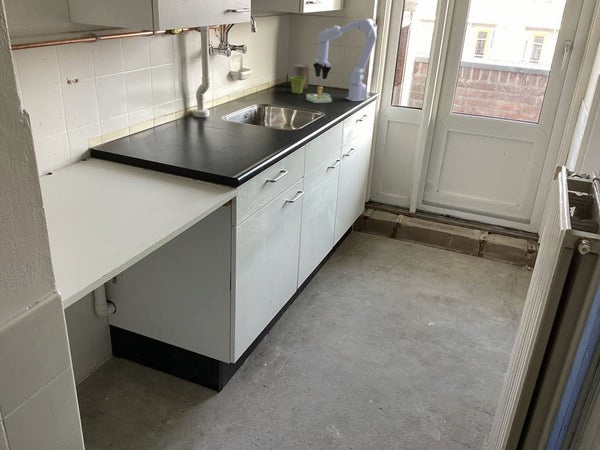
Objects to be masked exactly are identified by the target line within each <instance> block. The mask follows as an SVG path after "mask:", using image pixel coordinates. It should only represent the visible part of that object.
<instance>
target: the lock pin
mask: <svg viewBox="0 0 600 450" xmlns="http://www.w3.org/2000/svg"><path fill="white" fill-rule="evenodd" d="M316 89H317V93H316V95H317V99H321V97H322V93H323V89H324V88H323V86H317V87H316Z"/></svg>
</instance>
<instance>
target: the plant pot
mask: <svg viewBox="0 0 600 450" xmlns="http://www.w3.org/2000/svg"><path fill="white" fill-rule="evenodd" d="M289 79H290V83H291V85H290V86H291V93H293V94H296V93H297V95H298V94H303V91H304V89H303V86H304V82H305V80H306V78H304V77H298V76H294V77H293V76H290V77H289Z"/></svg>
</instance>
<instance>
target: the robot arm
mask: <svg viewBox="0 0 600 450" xmlns="http://www.w3.org/2000/svg"><path fill="white" fill-rule="evenodd" d="M376 25H377V24H376V23H375V21H374V19H372V18H364V19H360V20H355V21H352V22H351V23H347V24H345V25H343V26H339V25H333V27H331V28H325V31H324V30H322V31H320V32H319V33H318V34H317V40H318V48H317V50H318V51H317V58H316V59H315V58H314V63H313V68H314V72H315V77H320V76H321V75H322V79H323V80H326V79H327V77H328V75H329V73H330V70H331V69H332V66H331V63H330V62H329V61H328V58H329V48H330V47H329V43H330V41H331V40H334V39H336V38H340V37H342V35H343V33H346V32H348V31H349V32H350V31H352V30H355V29H356V30H360V31H361V32H362V33H363V34H364V36H365V38H366V40H365V43H364V45H363V48H362V51H361V53H360V56H359V59H358V60H357V64H356V66H355V68H354V70H353V72H352V73H351V74H350V75H349V88H348V89H349V90H348V97H344V98H345V99H346V100H349V101H352V102H360V101H367V99H366V98H367V97H366V96H367V85H366V84H365V83H363V81H364V78H365V72H366V67H367V64H368V61H369V59H370V56H371V54H372V51H373V48H374V46H375V44H376V41H377V39H378V38H377V37H378V36H377V29H376ZM321 73H322V74H321Z"/></svg>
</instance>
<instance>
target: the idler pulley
mask: <svg viewBox="0 0 600 450" xmlns="http://www.w3.org/2000/svg"><path fill="white" fill-rule="evenodd" d="M305 95H306V96H317V93H306V94H305Z"/></svg>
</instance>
